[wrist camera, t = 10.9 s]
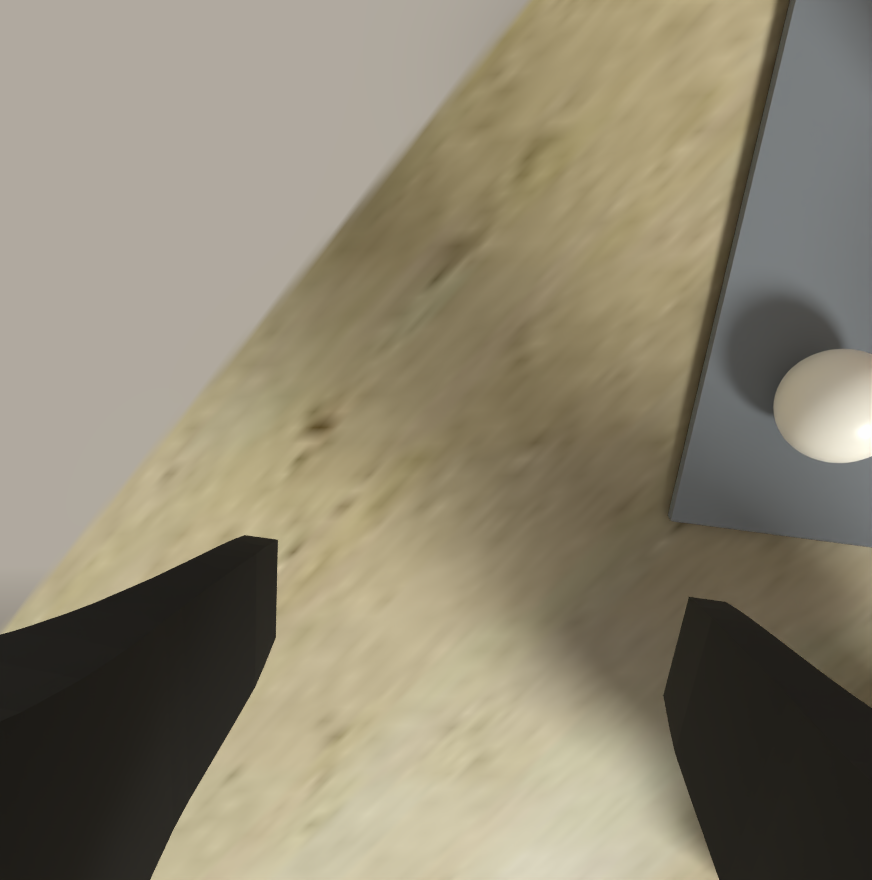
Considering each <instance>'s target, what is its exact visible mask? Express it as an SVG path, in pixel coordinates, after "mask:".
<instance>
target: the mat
mask: <svg viewBox="0 0 872 880" xmlns="http://www.w3.org/2000/svg"><path fill="white" fill-rule="evenodd" d="M832 349H854V350H859V351H864V352H867V353H870V354H872V0H790V3H789V7H788V11H787V15H786V19H785V24H784V28H783V32H782V36H781V40H780V45H779V49H778V53H777V57H776V62H775V66H774V70H773V74H772V78H771V83H770V87H769V91H768V95H767V99H766V104H765V108H764V112H763V116H762V121H761V125H760V129H759V133H758V137H757V142H756V146H755V150H754V154H753V159H752V163H751V167H750V171H749V175H748V180H747V184H746V188H745V192H744V196H743V201H742V205H741V209H740V213H739V218H738V222H737V226H736V230H735V234H734V239H733V243H732V247H731V251H730V255H729V260H728V264H727V268H726V272H725V277H724V281H723V285H722V289H721V293H720V298H719V302H718V306H717V310H716V314H715V319H714V323H713V327H712V331H711V336H710V340H709V344H708V348H707V352H706V357H705V361H704V365H703V369H702V374H701V378H700V382H699V386H698V390H697V395H696V399H695V403H694V407H693V411H692V416H691V420H690V424H689V428H688V433H687V437H686V441H685V445H684V449H683V454H682V458H681V462H680V466H679V470H678V475H677V479H676V483H675V487H674V492H673V496H672V500H671V504H670V508H669V513H668V517H669V519H670V520H671V521H675V522H682V523H690V524H697V525H705V526H713V527H720V528H728V529H735V530H743V531H751V532H758V533H766V534H773V535H781V536H789V537H796V538H804V539H811V540H819V541H827V542H834V543H842V544H850V545H857V546H865V547H872V456H871V457H869V458H866V459H863V460H859V461H855V462H849V463H829V462H824V461H819V460H816V459H813V458H810V457H808V456H806V455H804V454H802V453H800V452H799V451H797V450H796V449H794V448H793V447H792V446H791V445H790V444H789V443H788V442H787V441H786V440H785V439H784V437H783V436H782V434H781V433H780V431H779V429H778V427H777V425H776V422H775V418H774V410H773V405H774V397H775V393H776V391H777V388H778V386H779V384H780V382H781V380H782V379H783V377H784V376H785V375H786V374H787V372H788V371H789V370H790V369H791V368H792V367H793V366H795V365H796V364H797V363H799V362H800V361H802V360H803V359H805V358H807V357H809V356H811V355H813V354H816V353H819V352H822V351H827V350H832Z"/></svg>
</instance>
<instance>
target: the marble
mask: <svg viewBox="0 0 872 880" xmlns="http://www.w3.org/2000/svg"><path fill="white" fill-rule="evenodd" d="M773 410H774V418H775V422H776V425H777V427H778V429H779V431H780V433H781V434H782V436H783V437H784V439H785V440H786V441H787V442H788V443H789V444H790V445H791V446H792V447H793V448H794V449H796V450H797V451H799V452H800V453H802V454H804V455H806V456H808V457H810V458H813V459H816V460H819V461H824V462H829V463H849V462H855V461H859V460H863V459H866V458H869V457H871V456H872V354H870V353H867V352H864V351H859V350H854V349H832V350H827V351H822V352H819V353H816V354H813V355H811V356H809V357H807V358H805V359H803V360H802V361H800V362H799V363H797V364H796V365H795V366H793V367H792V368H791V369H790V370H789V371H788V372H787V374H786V375H785V376H784V377H783V379H782V380H781V382H780V384H779V386H778V388H777V391H776V393H775V397H774V405H773Z"/></svg>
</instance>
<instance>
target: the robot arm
mask: <svg viewBox="0 0 872 880" xmlns="http://www.w3.org/2000/svg"><path fill="white" fill-rule="evenodd" d="M277 553H278V540H275V539H268V538H261V537H253V536H246V535H244V536H241V537H239V538H236V539H234V540H231V541H229V542H227V543H225V544H222V545H220V546H218V547H216V548H214V549H212V550H210V551H208V552H206V553H204V554H202V555H199V556H197V557H195V558H193V559H191V560H189V561H187V562H185V563H183V564H181V565H179V566H177V567H175V568H172V569H170V570H168V571H166V572H164V573H162V574H160V575H158V576H156V577H154V578H151V579H149V580H147V581H144V582H142V583H140V584H138V585H135V586H133V587H131V588H128V589H126V590H124V591H121V592H119V593H117V594H114V595H112V596H110V597H107V598H105V599H103V600H101V601H98V602H96V603H93V604H91V605H88V606H85V607H83V608H80V609H77V610H75V611H72V612H69V613H67V614H64V615H61V616H58V617H55V618H52V619H49V620H46V621H43V622H40V623H37V624H34V625H31V626H28V627H25V628H22V629H19V630H16V631H12V632H9V633H5V634H1V635H0V880H150V879H151V876H152V874H153V872H154V870H155V868H156V866H157V864H158V861H159V859H160V857H161V855H162V853H163V851H164V849H165V846H166V844H167V842H168V840H169V838H170V836H171V833H172V831H173V829H174V827H175V826H176V824H177V822H178V820H179V818H180V816H181V814H182V812H183V811H184V809H185V807H186V805H187V803H188V801H189V799H190V798H191V796H192V794H193V793H194V791H195V789H196V788H197V786H198V784H199V782H200V781H201V779H202V777H203V776H204V774H205V772H206V771H207V769H208V767H209V765H210V764H211V762H212V760H213V759H214V757H215V755H216V754H217V752H218V750H219V748H220V747H221V745H222V743H223V742H224V740H225V738H226V737H227V735H228V733H229V731H230V730H231V728H232V726H233V725H234V723H235V721H236V719H237V718H238V716H239V714H240V713H241V711H242V709H243V707H244V706H245V704H246V702H247V700H248V699H249V697H250V695H251V693H252V692H253V690H254V688H255V686H256V684H257V681H258V679H259V677H260V674H261V672H262V670H263V668H264V665H265V663H266V660H267V658H268V655H269V653H270V650H271V648H272V645H273V643H274V640H275V638H276V599H277ZM663 696H664V701H665V706H666V712H667V717H668V722H669V727H670V732H671V737H672V741H673V746H674V750H675V754H676V757H677V760H678V763H679V766H680V769H681V772H682V775H683V778H684V781H685V783H686V786H687V789H688V792H689V795H690V798H691V801H692V804H693V807H694V809H695V812H696V815H697V818H698V821H699V824H700V826H701V829H702V832H703V835H704V838H705V841H706V843H707V846H708V849H709V852H710V855H711V858H712V860H713V863H714V866H715V869H716V872H717V875H718V877H719V880H872V708H870V707H869V706H868V705H866V704H865V703H863V702H862V701H860V700H859V699H857V698H856V697H855V696H853V695H852V694H850V693H849V692H848V691H846V690H845V689H843V688H842V687H841V686H839V685H838V684H837V683H835V682H834V681H832V680H831V679H830V678H828V677H827V676H826V675H824V674H823V673H822V672H820V671H819V670H818V669H816V668H815V667H814V666H812V665H811V664H810V663H808V662H807V661H806V660H804V659H803V658H802V657H800V656H799V655H798V654H797V653H795V652H794V651H793V650H791V649H790V648H789V647H787V646H786V645H785V644H783V643H782V642H781V641H780V640H778V639H777V638H776V637H774V636H773V635H772V634H770V633H769V632H768V631H766V630H765V629H764V628H762V627H761V626H760V625H758V624H757V623H756V622H754V621H753V620H752V619H750V618H749V617H748V616H746V615H745V614H743V613H742V612H741V611H739V610H738V609H736V608H735V607H733V606H731V605H730V604H728V603H726V602H721V601H714V600H707V599H700V598H692V597H689V599H688V603H687V607H686V611H685V615H684V619H683V622H682V626H681V630H680V634H679V638H678V642H677V645H676V649H675V653H674V657H673V661H672V665H671V668H670V672H669V676H668V680H667V684H666V688H665V691H664V695H663Z"/></svg>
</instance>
